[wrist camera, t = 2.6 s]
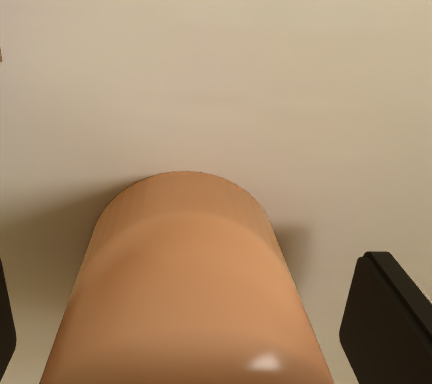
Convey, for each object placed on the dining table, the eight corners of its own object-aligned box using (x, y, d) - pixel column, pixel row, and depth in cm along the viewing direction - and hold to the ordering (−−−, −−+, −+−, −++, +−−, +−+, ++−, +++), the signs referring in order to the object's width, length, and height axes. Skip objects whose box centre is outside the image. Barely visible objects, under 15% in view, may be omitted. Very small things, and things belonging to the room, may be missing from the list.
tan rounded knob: (285, 173, 12) (377, 327, 6) (264, 323, 14) (317, 526, 9) (83, 168, 11) (-5, 333, 6) (97, 325, 14) (43, 545, 8)
